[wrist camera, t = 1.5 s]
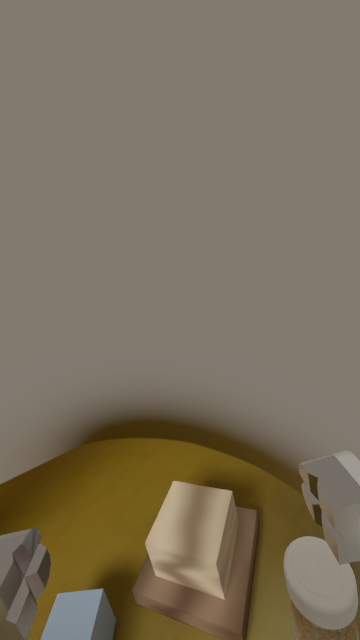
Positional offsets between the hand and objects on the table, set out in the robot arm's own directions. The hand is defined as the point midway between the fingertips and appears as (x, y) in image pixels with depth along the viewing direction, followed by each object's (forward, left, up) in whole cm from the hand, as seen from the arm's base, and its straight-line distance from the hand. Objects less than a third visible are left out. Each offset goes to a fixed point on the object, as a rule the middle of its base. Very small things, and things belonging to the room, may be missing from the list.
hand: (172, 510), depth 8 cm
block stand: (-10, +15, -29) cm, 34 cm away
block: (-19, +4, -29) cm, 35 cm away
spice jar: (+3, +9, -29) cm, 31 cm away
